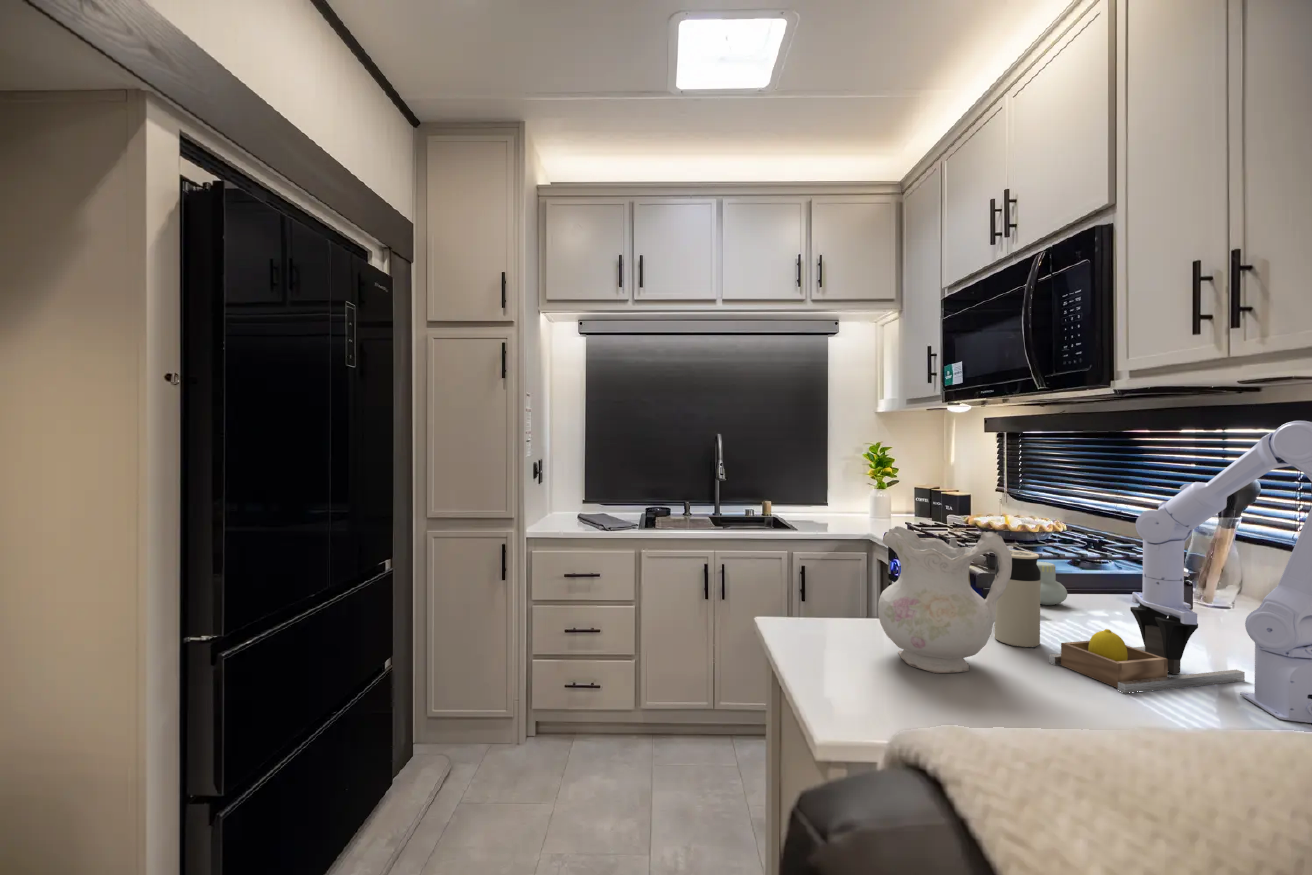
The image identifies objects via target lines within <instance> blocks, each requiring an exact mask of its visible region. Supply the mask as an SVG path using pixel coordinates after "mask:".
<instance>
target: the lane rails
mask: <svg viewBox="0 0 1312 875" xmlns="http://www.w3.org/2000/svg"><path fill="white" fill-rule="evenodd" d="M1133 648H1136V649H1139V650H1142V651H1145V645H1144V646H1136V647H1133ZM1048 659H1049V660H1048V661H1049V662H1048V663H1049V664H1051V665H1053V666H1062V665H1061V653H1056V654H1055V653H1054V654H1049V656H1048ZM1245 676H1246V675H1245V671H1242V670H1239V669H1230V670H1221V671H1211V672H1210V671H1209V672H1201V673H1191V674H1182V675H1181V674H1178V675H1173V676H1171V675H1170V676H1167V677H1160V678H1151V679H1141V680H1131V681H1122V682H1118V688H1117V691H1118V690H1119V691H1121V692H1123V693H1122V694H1124V693H1129V692H1130V694H1133V693H1132V692H1137V691H1138V692H1139V691H1148V692H1153V691H1152V690H1157V691H1164V690H1166V691H1167V690H1171V689H1172V690H1174V689H1183V688H1191V687H1201V686H1211V685H1219V684H1220V685H1221V684H1228V683H1237V682H1245ZM1119 691H1118V692H1119ZM1121 692H1120V693H1121ZM1139 693H1140V692H1139Z"/></svg>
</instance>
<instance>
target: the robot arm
mask: <svg viewBox="0 0 1312 875" xmlns="http://www.w3.org/2000/svg"><path fill="white" fill-rule="evenodd" d="M1285 467H1294V468H1295V469H1297V470H1299V471H1300V472H1302V473H1303V474H1304V475H1305V476H1306V477H1307V478H1308V479H1309V480H1310V482H1311V483H1312V421H1307V420H1293V421H1289V422H1286V423H1284V424H1281V426H1279V427H1277V428H1276V430H1275V431H1274V432H1270V433H1268V434H1266V435H1264V436H1262V437H1261V438H1260V439H1259V441H1257V443H1256V444H1254V446H1252V447H1251V448H1250V449H1248V450H1247V451H1246V452H1245V453H1243V454H1242V455H1241V456H1239V457H1238V458H1237V459H1236V460H1235V461H1233V462H1231V464H1229V465H1228V466H1227V467H1225V468H1224V469H1223V470H1222V471H1220V472H1219V473H1217V474H1216V476H1214V477H1213V478H1211V479H1210V480H1208V482H1202V481H1201V482H1200V481H1195V482H1192V483H1184V484H1183V485H1181V486H1180V487H1179V489H1180V490H1181V491H1180V492H1179V493H1177V494H1175V495H1174V496H1173V497H1172V498H1170V499H1169V500H1168V501H1161V502H1160V503H1158V508H1157V509H1149V510H1148V509H1146V510H1144V511H1142V512H1141V514H1140V515H1138V517H1137V518H1136V520H1135V530H1136V533H1137V534H1138V536H1139V537H1140V538H1141V539H1142V592H1141V591H1140V592H1137V591H1133V592H1132V601H1131V602H1132V603H1134V604H1139V605H1137V606H1131V607H1130V612H1131V613H1132V616H1134V618H1135V620H1136V622H1137V625H1138V628H1139V631H1140V634H1141V638H1142V642H1143V645H1144V646H1145V626H1147V625H1153V626H1156V627H1159V629H1160V632H1161V635H1162V640H1163V650H1164V655H1165V658H1167V659H1170V660H1180V661H1181V660H1182V658H1183V655H1184V653H1185V650H1186V646H1187V644H1188V642H1189V639H1190V638H1191V637H1192V635H1193V634H1194V632H1196V630H1197V629H1198V628H1199V623H1198V613H1197V612H1195V611H1193V610H1192V609H1191V608H1192V607H1191V606H1192V605H1191V604H1190V603H1187V602H1185V599H1184V598H1185V594H1184V593H1185V582H1184V581H1185V548H1186V542H1187V540H1189V539H1190V538H1191V537H1192V534H1193V530H1194V529H1196V528H1198V527H1199V526H1200V525H1202V524H1203V523H1205V522H1206V521H1209V519H1211V518H1213V517H1214V516H1216V515H1217V514H1219V513H1220V512H1222V511H1223V510H1225V509H1226V508H1227V506H1228V505H1227V503H1228V501H1227V500H1228V497H1229V496H1231V495H1232V494H1235V493H1236V492H1238V491H1239V490H1241V489H1243V488H1244V487H1246V486H1248V485H1249V484H1251V483H1252V482H1254V481H1256V480H1257V479H1259V478H1261V477H1262V476H1264V475H1266V474H1268V473H1269V472H1271V471H1272V470H1274V469H1278V468H1285ZM1309 509H1310V510H1309V512H1308V514H1307V517H1306V518H1305V521H1304V523H1303V526H1302V528H1301V531H1300V533H1299V536H1297V537H1298V538H1297V540H1296V543H1295V544H1294V547H1293V549H1292V551H1291V554H1290V556H1289V558H1288V561H1287V563H1286V566H1285V567H1284V570H1283V573H1282V575H1281V578H1280V580H1279V583H1278V584H1277V585H1276V587H1274V588H1273V589H1272V590H1271V591H1270V592H1269V593H1268V594H1267V595H1265V597H1263V599H1262V602H1261V604H1260V605H1259V606H1258V607H1257V608H1256V609H1254V610H1252V611H1251V612H1250V613H1249V614H1248V615H1247V616H1246V619H1245V620H1244V621H1245V622H1244V625H1245V630H1246V633H1247V635H1248V636H1249V637H1250V639H1251V640H1252V641H1253V642H1254V692H1245V691H1241V692H1240V694H1239V695H1240V696H1242V697H1243V698H1245V699H1246V700H1248V701H1249V702H1251V703H1252V704H1254V705H1256V706H1258V707H1259V708H1261V709H1262V710H1264V711H1265V712H1267V713H1268V714H1271V715H1272V716H1274V717H1275V718H1276V719H1279V720H1283V721H1291V722H1300V723H1307V724H1308V723H1309V724H1312V506H1311V507H1310V508H1309Z"/></svg>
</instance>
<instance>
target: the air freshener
mask: <svg viewBox="0 0 1312 875" xmlns="http://www.w3.org/2000/svg"><path fill="white" fill-rule="evenodd" d="M1037 566H1038V568H1039V570H1040V572H1041V579H1040V580H1041V582H1040V604H1042V605H1041V606H1055V604H1056V605H1059V604H1061V603H1063V602H1064V601H1066V599H1067V598H1068V591H1067V589H1066V587H1065V586H1064V585H1063V584H1062V583H1061V582H1058V581H1057V580H1056V579H1057V578H1056V573H1057V572H1056V565H1055V564H1054V563H1052V562H1045V561H1038V560H1037Z"/></svg>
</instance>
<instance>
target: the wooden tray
mask: <svg viewBox="0 0 1312 875" xmlns="http://www.w3.org/2000/svg"><path fill="white" fill-rule="evenodd" d="M1089 642H1090V640H1079V641H1069V642H1068V641H1067V642H1061V643H1060V654H1061V665H1060V666H1062V667H1065V668H1066V669H1069V670H1073V671H1075V672H1078V673H1080V674H1082V675H1085V676H1087V677H1089V678H1092V679H1094V680H1097V681H1099V682H1101V683H1104V684H1107V685H1110V686H1112V687H1115V688H1116V689H1118V682H1122V681H1131V680H1141V679H1151V678H1160V677H1168V673H1170V674H1173V675H1181V660H1170V659H1167V658H1165V655H1164V650H1163V640H1162V635H1161V632H1160V629H1159V627H1156V626H1153V625H1147V626H1145V645H1144V646H1145V651H1142V650H1139V649H1136V648H1133V647H1132V646H1130V645H1128V644H1125V645H1126V648H1127V653H1128V658H1127V661H1118V662H1117V661H1114V660H1111V659H1108V658H1106V657H1103V656H1100V655H1097V654H1095V653H1092V652H1089V651H1088V647H1089Z"/></svg>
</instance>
